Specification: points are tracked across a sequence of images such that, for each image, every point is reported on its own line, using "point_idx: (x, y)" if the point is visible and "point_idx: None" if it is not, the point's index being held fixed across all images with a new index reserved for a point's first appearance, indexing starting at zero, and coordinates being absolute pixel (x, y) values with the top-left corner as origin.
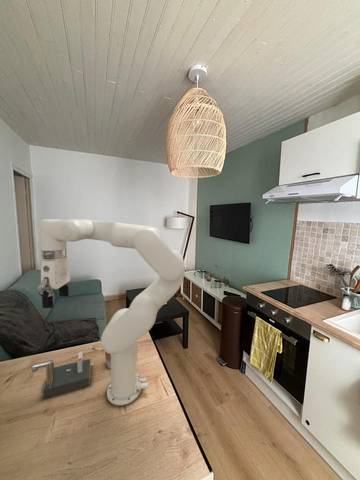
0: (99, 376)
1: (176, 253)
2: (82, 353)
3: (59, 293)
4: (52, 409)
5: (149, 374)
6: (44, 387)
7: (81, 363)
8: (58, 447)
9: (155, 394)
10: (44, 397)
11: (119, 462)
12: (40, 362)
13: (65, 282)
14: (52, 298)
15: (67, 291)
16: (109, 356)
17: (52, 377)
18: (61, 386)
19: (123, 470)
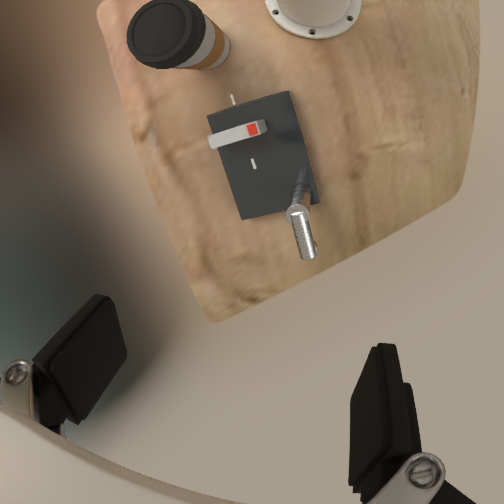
0: (258, 74)
1: None
2: (219, 132)
3: (116, 372)
4: (353, 161)
5: None
6: (312, 203)
7: (258, 121)
8: (437, 118)
9: None
10: (320, 195)
11: (464, 11)
12: (301, 242)
13: (74, 481)
14: (399, 422)
15: (80, 326)
16: (219, 45)
17: (306, 191)
18: (309, 160)
19: (474, 7)
